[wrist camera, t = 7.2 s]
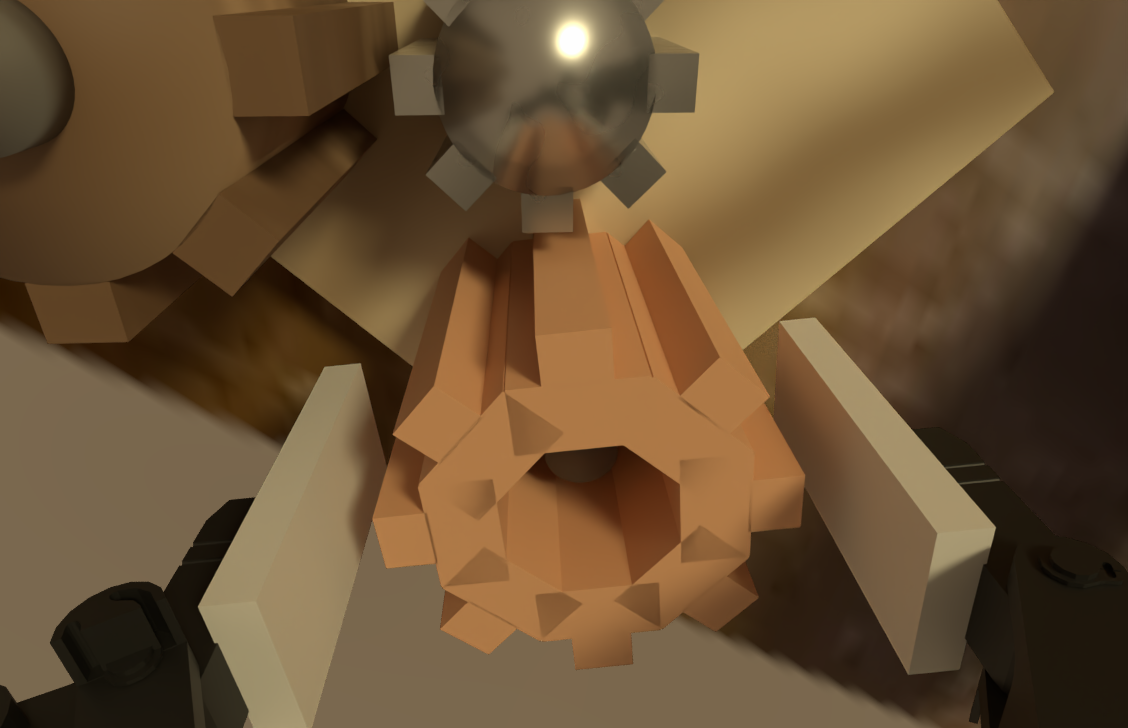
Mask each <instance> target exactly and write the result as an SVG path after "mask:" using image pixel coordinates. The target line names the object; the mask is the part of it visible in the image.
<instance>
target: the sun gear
mask: <svg viewBox="0 0 1128 728" xmlns="http://www.w3.org/2000/svg"><path fill="white" fill-rule="evenodd" d="M423 1H424V2H425V3H426V4H427V5H428V6H429V7H430V8H431V9H432V10H433V11H434V12H435V13H436V14H437V15H438V16H439V17H440V18H441V19H442V20H443V21H444V24H443V26H442V29H441V32H440V34H439V37H438V38H421V39H419V40H417V41H415V42H413V43H411V44H409V45H408V46H406V47H404V48H402V49H400V50H398V51H396V52H394V53H392V54H390V55H389V63H390V72H391V81H392V91H393V100H394V109H395V115H439V116H440V119H441V121H442V124H443V126H444V129H445V131H446V133H447V136H446V137H445V139H444V141H443V143H442V145H441V147H440V149H439V151H438V153H437V154H436V156H435V158H434V160H433V162H432V164H431V166H430V168H429V169H428V171H427V173H426V176H427V177H428V178H429V179H431V180H432V181H433V182H434V183H435V184H436V185H437V186H438V187H439V188H441V189H442V190H443V191H444V192H445V193H446V194H447V195H448V196H449V197H450V198H452V199H453V200H454V201H455V202H456V203H457V204H458V205H459V206H460V207H462V208H463V209H464V210H465V211H467V210H468V209H469V208H470V207H471V205H472V204H473V203H474V202H475V201H476V200H477V199H478V198H479V197H480V196H481V195H482V194H483V193H484V192H485V191H486V190H487V188H488V187H489V186H490V185H491V184H492V183H493V182H494V183H496V184H498V185H500V186H503V187H505V188H507V189H510V190H513V191H516V192H519V193H521V208H522V233H547V232H573V192H576V191H579V190H581V189H584V188H587V187H589V186H591V185H593V184H595V183H597V182H599V181H601V182H602V183H603V184H604V185H605V186H606V187H607V188H608V189H609V190H610V191H611V192H612V193H613V194H614V195H615V196H616V197H617V198H618V199H619V200H620V201H621V202H622V203H623V204H624V205H625V206H626V207H627V208H628V209H629V208H630V207H631V206H632V205H633V204H634V203H635V202H636V201H637V200H638V199H639V198H640V197H641V196H642V195H643V194H644V193H645V192H646V191H647V190H649V189H650V188H651V187H652V186H653V185H654V184H655V183H656V182H657V181H658V180H659V179H660V178H661V177H662V176H663V175H664V174H665V173H666V172H667V171H666V170H665V169H664V167H663V166H662V165H661V163H660V162H659V161H658V159H657V158H656V157H655V155H654V154H653V153H652V151H651V150H650V149H649V147H648V146H647V144H646V143H645V142H644V140H643V139H642V136H643V134H644V132H645V130H646V128H647V125H648V123H649V120H650V117H651V115H652V113H695V103H696V90H697V78H698V65H699V53H698V52H695V51H693V50H690V49H688V48H685V47H683V46H680V45H678V44H675V43H673V42H670V41H668V40H665V39H663V38H660V37H651V36H650V33H649V31H648V28H647V26H646V23H645V20H646V19H647V18H648V17H649V16H650V15H651V14H652V13H653V12H654V11H655V10H656V9H657V8H658V6H659V5H660V4H661V3H662V2H663V1H664V0H423Z"/></svg>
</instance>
